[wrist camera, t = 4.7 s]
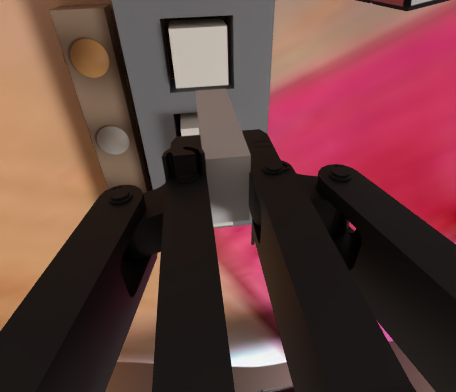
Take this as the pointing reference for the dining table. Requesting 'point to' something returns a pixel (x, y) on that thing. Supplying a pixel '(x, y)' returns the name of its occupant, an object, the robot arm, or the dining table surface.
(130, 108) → the pattern sign
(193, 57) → the near button
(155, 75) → the button panel
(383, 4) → the puzzle cube
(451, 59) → the dining table surface
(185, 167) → the robot arm
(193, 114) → the middle button
